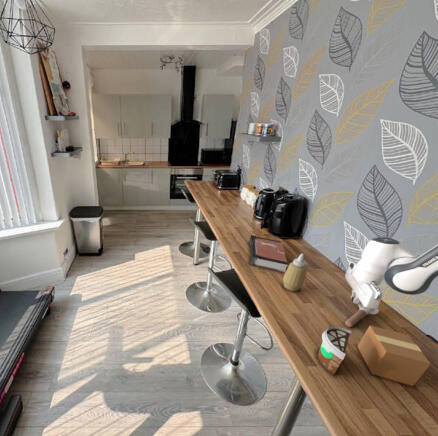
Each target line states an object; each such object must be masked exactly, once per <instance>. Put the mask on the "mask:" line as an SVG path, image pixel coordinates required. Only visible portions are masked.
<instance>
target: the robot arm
mask: <svg viewBox="0 0 438 436" xmlns="http://www.w3.org/2000/svg"><path fill="white" fill-rule="evenodd" d="M344 276H345V280H346V281H347V283H348V285H349V286H350V287H351V296H350V299H351V301H352V303H353V304H355V305H359V303H360V302H361V303H362V304H363V306H364V307H365V308H369V309H373V310H375V309H377V308H378V309H379V306H380V303H381V301H382V298H383V293H382V291H381V287H379V286H381V284H382V283H383V281H384V282H385V283H386V284H387V286H388V287H389V288H391V289H393V290H394V291H396V292H398V293H401V294H403V295H413V296H415V295H421V294H423V293H425V292H426V291H427V290H429V288H430V287H431V284H432V282H433V281H434V280H435V279H436V278H437V277H438V244H436V245H435V246H433V247H431V248H430V249H428V250H427V251H425V252H424V253H422V254H421V255H418V254H416V253H414V252H412V251H411V250H409V249H407V248H406V247H405V246H403V244H402V242H400V241H399V240H397V239H395V238H390V237H385V236H377V237H373V238H371V239H370V240H369V241H368V242H367V244H366V246H364V249H363V251H362V252H361V255H360V260H358V262H357V261H349V264H348V267H347V270H346V272H345V275H344ZM373 310H372V311H373Z"/></svg>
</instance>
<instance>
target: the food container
mask: <svg viewBox="0 0 438 436" xmlns="http://www.w3.org/2000/svg"><path fill="white" fill-rule="evenodd" d="M351 334H352V331H351V330H349V329H346V328H344V327H339V326H331V327H328V328H326V329H325V330H324V331H323V332H322V334H321V340H322V341H321V345H320V348H319V351H318V352H317V353H318V354H317V358H318V360H319V362H320V364H321V365H322V366H323V367H324V369H326V370H327V371H328V372H329V373H330V374H332V375H335V373H336V372H337V370H338V368H339V366H340V365H341V363H342V361H343V360H344V359H345V357H346V355H347V354H346V350H347V346H348V343H349V338H350V335H351Z"/></svg>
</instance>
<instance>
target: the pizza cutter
mask: <svg viewBox="0 0 438 436" xmlns="http://www.w3.org/2000/svg"><path fill="white" fill-rule="evenodd" d="M357 305H358V308H359V309H358V310H357V311H356V312H355V313H354V314H352V316H350V317H349V318H348V319H347V320H346V321H344V325H345V326H346V327H348V328H352V327H353V326H355V325H356V324H357V323H359V322H360V321H361V320H362V319H363V318H364V317H366V316H367V315H368V314H369V315H378V313H379V312H380V311H379V310H380V309H379V307H378V308H377V309H375V310H373V309H369V308H365V307H364V306H363V304H362V303H361V301H360V302H359V304H357Z"/></svg>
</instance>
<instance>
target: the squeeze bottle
mask: <svg viewBox="0 0 438 436" xmlns="http://www.w3.org/2000/svg"><path fill="white" fill-rule="evenodd" d="M306 265H307V261H306V260H305V254H304V253H302V252H301V253H300V254H299V256H298V257H296V258H294V259H293V261H292V262H289V264H288V266H287V268H286V273H285V272H284V275H283V277H282V280H283V287H284V288H285V289H286V290H288V291H290V292H291V291H292V292H298V291H299V290H300V289H301V288H303V286H304V283H305V279H306V274H307V270H308V269H307V266H306Z"/></svg>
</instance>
